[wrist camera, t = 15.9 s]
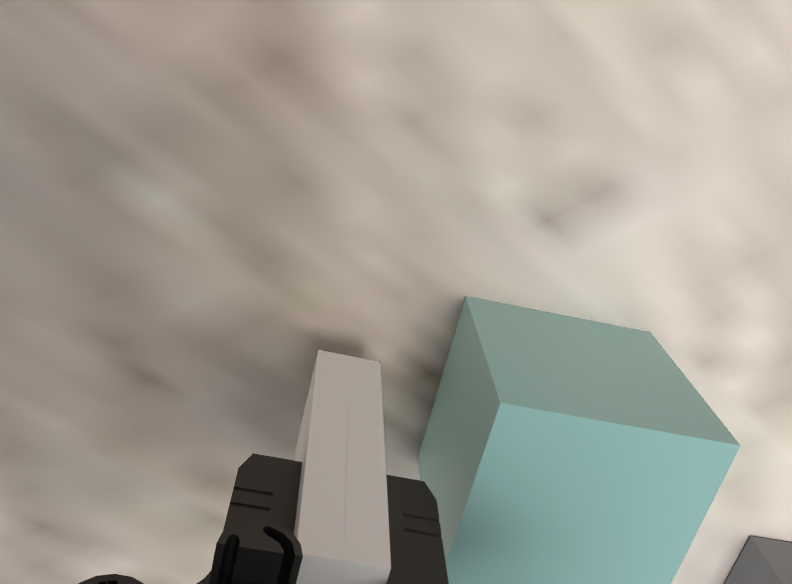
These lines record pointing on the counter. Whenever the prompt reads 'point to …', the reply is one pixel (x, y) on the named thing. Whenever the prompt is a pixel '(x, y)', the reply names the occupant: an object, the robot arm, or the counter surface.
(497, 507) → the teal cube block
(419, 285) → the counter surface
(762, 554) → the grey flat pieces
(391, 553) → the robot arm
